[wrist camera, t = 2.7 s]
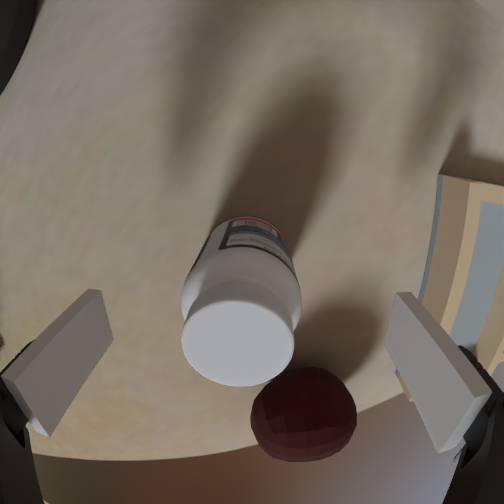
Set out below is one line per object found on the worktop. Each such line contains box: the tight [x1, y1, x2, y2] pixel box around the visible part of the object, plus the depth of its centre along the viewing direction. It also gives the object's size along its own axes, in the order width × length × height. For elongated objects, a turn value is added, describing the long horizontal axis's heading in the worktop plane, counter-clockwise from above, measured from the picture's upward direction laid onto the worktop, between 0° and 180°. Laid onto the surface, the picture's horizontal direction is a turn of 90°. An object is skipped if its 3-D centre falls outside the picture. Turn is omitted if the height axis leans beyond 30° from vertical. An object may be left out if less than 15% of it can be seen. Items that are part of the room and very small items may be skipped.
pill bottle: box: [181, 217, 302, 387], centre depth 14 cm, size 5×5×9 cm
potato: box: [250, 367, 357, 462], centre depth 18 cm, size 7×8×7 cm
